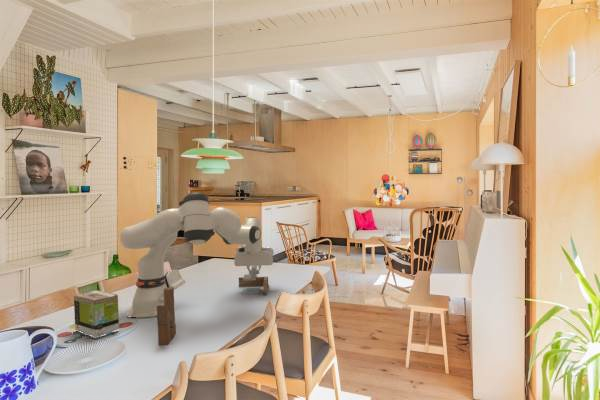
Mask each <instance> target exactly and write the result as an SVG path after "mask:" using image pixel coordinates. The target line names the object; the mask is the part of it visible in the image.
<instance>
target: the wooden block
mask: <svg viewBox="0 0 600 400" xmlns="http://www.w3.org/2000/svg"><path fill="white" fill-rule="evenodd" d="M175 311H176V310H175V290H174V288H173V287H169V288H165V289H164V305H163V306H157V316H156V320H157V321H156V322H157V338H158V340H157V341H158V345H159V346H165V345H169V344H170V343H171V341H172V339H174V337H175V336H176V334H177V325H176V317H175V316H176V315H175Z"/></svg>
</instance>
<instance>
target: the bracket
mask: <svg viewBox="0 0 600 400" xmlns="http://www.w3.org/2000/svg"><path fill="white" fill-rule="evenodd" d="M250 270H251V274H249V273H248V274H244V275H243V281H250V280H256V279H257V277H258V274H256V273H257V272H256V270H258V266H251V269H250Z"/></svg>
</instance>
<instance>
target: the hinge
mask: <svg viewBox="0 0 600 400" xmlns="http://www.w3.org/2000/svg"><path fill="white" fill-rule="evenodd" d="M164 276H165V286H166V287H167V288H169V287H172V288H174V291H175V290H176V289H178V288H180V286H182V285H184V284H186V280H185V279H184V278H183V277H182V275H181V273H180V271H179V269H171V270H169V271H167V272H164Z"/></svg>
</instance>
